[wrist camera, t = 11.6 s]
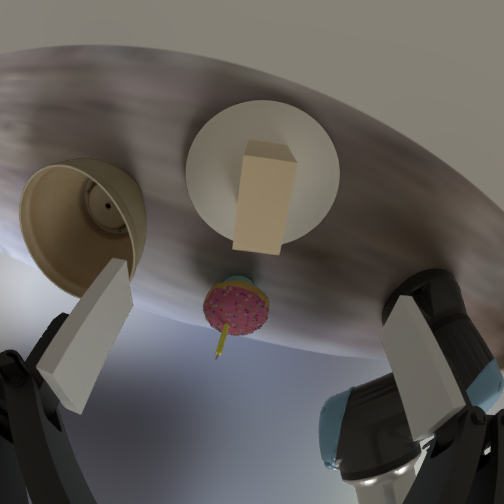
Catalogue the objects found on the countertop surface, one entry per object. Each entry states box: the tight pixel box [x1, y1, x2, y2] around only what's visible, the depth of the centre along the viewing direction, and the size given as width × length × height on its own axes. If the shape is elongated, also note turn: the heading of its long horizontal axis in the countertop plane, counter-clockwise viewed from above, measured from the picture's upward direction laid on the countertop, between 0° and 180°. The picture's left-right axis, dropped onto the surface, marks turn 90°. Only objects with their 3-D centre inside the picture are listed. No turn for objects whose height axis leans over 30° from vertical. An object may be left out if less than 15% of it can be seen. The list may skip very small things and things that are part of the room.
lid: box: [186, 100, 340, 255], centre depth 26 cm, size 17×17×10 cm
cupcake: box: [203, 275, 269, 360], centre depth 34 cm, size 9×8×12 cm
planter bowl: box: [19, 158, 147, 299], centre depth 28 cm, size 16×16×11 cm
